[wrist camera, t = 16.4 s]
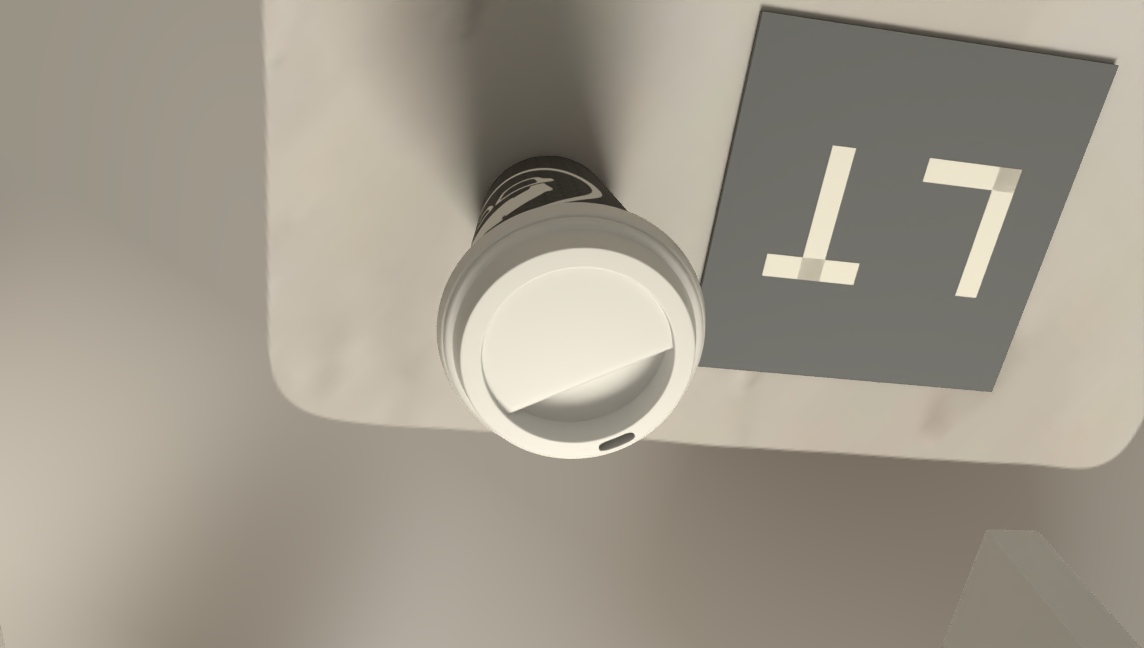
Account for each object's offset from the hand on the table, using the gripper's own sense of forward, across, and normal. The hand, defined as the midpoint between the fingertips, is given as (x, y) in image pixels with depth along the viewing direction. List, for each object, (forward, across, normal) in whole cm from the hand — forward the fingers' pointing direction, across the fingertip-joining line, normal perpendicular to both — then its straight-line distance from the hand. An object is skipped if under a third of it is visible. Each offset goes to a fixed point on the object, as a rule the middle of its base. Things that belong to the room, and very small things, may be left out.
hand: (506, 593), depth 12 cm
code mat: (+31, +20, -4) cm, 38 cm away
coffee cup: (+31, +3, -5) cm, 32 cm away
